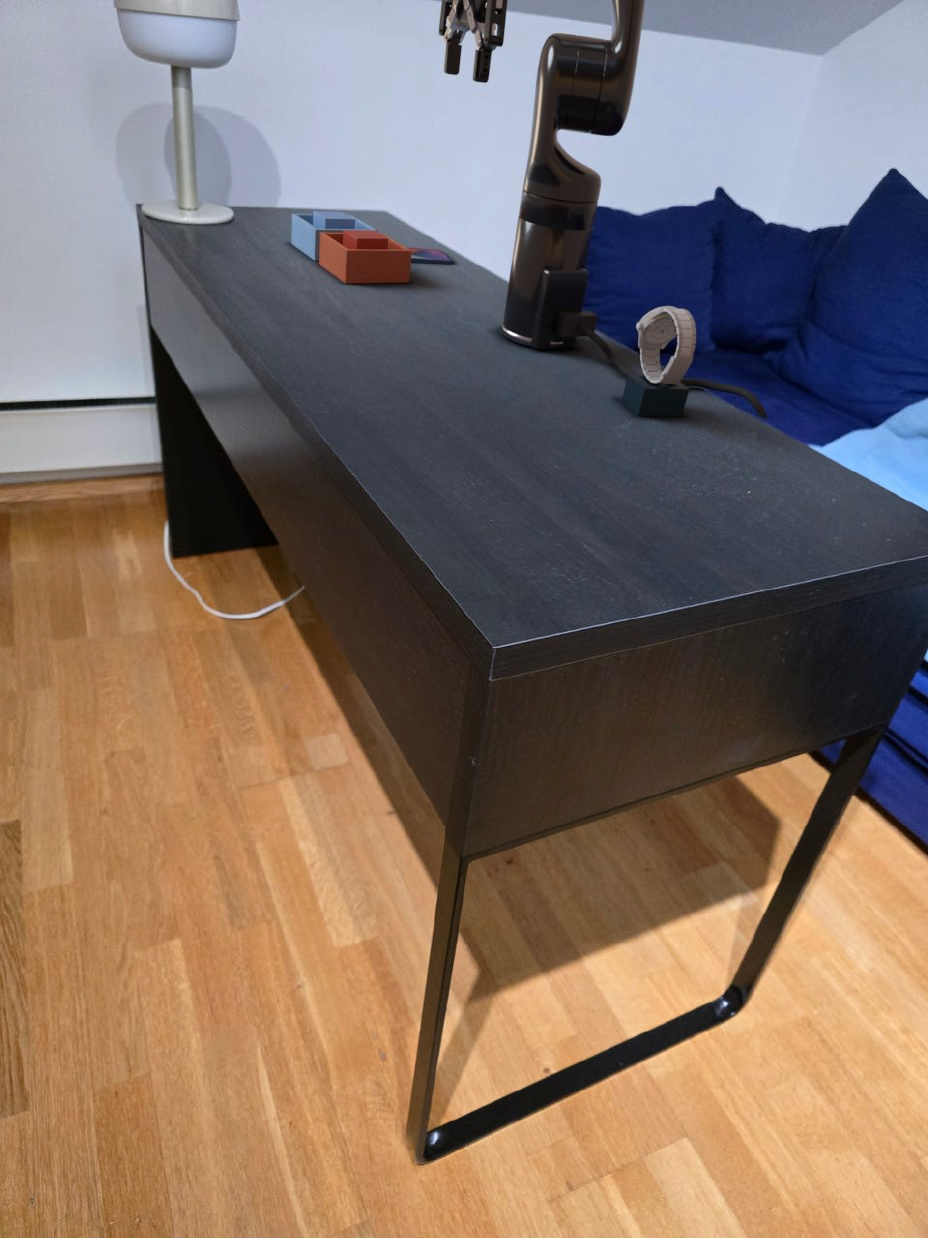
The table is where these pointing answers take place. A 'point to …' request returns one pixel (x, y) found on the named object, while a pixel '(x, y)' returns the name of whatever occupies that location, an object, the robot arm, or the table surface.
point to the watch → (655, 387)
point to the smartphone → (429, 256)
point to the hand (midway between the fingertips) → (465, 77)
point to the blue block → (332, 220)
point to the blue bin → (314, 233)
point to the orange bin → (364, 261)
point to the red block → (364, 240)
